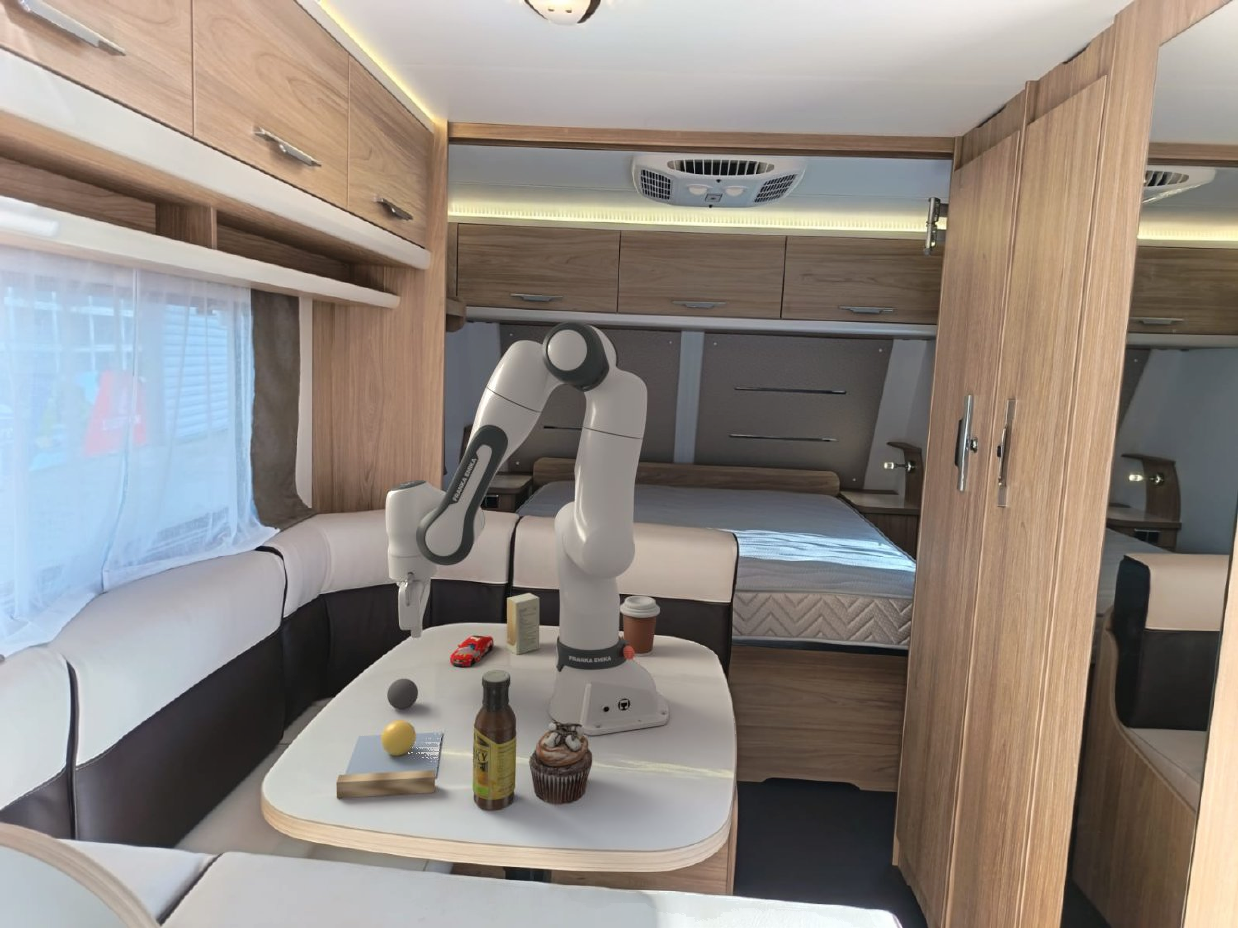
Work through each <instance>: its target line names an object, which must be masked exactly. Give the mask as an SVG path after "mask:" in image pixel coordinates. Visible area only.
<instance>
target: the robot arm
mask: <svg viewBox="0 0 1238 928" xmlns="http://www.w3.org/2000/svg"><path fill="white" fill-rule="evenodd" d="M619 358H620V357H619V354H618V349H617V347H616V345H615V343H614V342H613V341H612V340H611V339H610V338H609V336H607V335H606V334H605V333H604V332H603V331H601V330H600V329H599V328H597V327H595V326H592V325H590V324H587V323H585V322H583V321H577V320H570V321H569V320H568V321H564V322H561V323H558V324H557V325H555V326H553V327H552V329H550V330H549V332H547V334H546V335H545V337H544V339H543V342H542V344H541V343H539V342H537V341H533V340H527V339H525V340H518V341H516V342H514V343H512V344H511V345H510V346H509V347H508V349H507V350H506V352H505V353H504V355H503V356H502V357H501V359H500V361H499V362H498V364H497V365H496V367H495V369H494V371H493V372H492V374H491V376H490V378H489V380H488V382H487V385H486V386H485V389H484V391H483V393H482V396H481V399H480V402H479V403H478V407H477V410H476V413H475V417H474V421H473V425H472V428H471V432H470V435H469V436H470V437H469V439H468V442H467V446H466V449H465V452H464V455H463V456H462V458H461V460H460V463H459V465H458V467H457V469H456V472H455V473H454V476H453V477H452V480H451V481H450V484H449V485H448V488H447V490H446V491H443V490H442V489H439V488H437V487H435V486H433V485H432V484H431V483H430V482H429V481H427V480H423V479H422V480H421V479H420V480H412V481H406V482H403V483H400V484H397V485H396V486H394V487H392V488H391V489H390V490H389V491H388V493H386V494H387V495H386V499H385V512H384V513H385V531H386V534H387V537H388V547H387V562H388V563H387V564H388V565H387V566H388V576H389V578H390V579H391V580H394V581H396V582H395V583H396V585H397V587H399V588H398V595H397V596H398V597H397V599H398V605H397V606H398V623H399V628H400V630H402V631H410V636H411V638H412V639H418V638H421V637H422V632H423V618H424V614H425V610H426V608H427V607H426V606H427V604H428V600H429V596H430V592H431V581H432V580H431V579H432V577H433V576H435V575H437V573H438V567H437V565H439V566H445V567H446V566H453V565H457V564H459V563H461V562H463V561H464V560H465V559H466V558H467V557H468V556H469V554H470V553H471V551H472V549H473V546H474V545H475V543H476V542H477V540H478V539H479V537H480V535H481V534H482V532H483V531H484V529H485V528H484V527H485V525H486V519H485V517H486V516H485V513H484V510H483V509H482V507H481V504H482V502H483V501H484V499H485V496H486V494H487V492H488V491H489V488H490V485H491V484H492V481H493V480H494V477H495V475H496V474H497V473H498V471H499V469H500V468H501V467H502V465H503V464H504V463H505V462H506V461H507V460H508V458H509V457H510V456H511V455H513V453H514V452H516V450H517V449H518V448H519V447H520V446H521V445H522V444H523V443H524V441H525V440H526V439H527V438H528V437H529V434H530V433H531V432H532V431H533V428H534V427H535V425H536V424H537V422H538V420H539V418H540V416H541V414H542V411H544V410H543V409H544V407H545V405H546V403H547V401H548V399H549V397H550V395H551V393H552V392H553V391H554V390H555V388H557V387H558V386H560V385H564V386H569V387H571V388H573V389H574V390H576V391H578V392H580V393H583V394H584V396H585V399H586V400H585V401H586V403H585V404H586V406H585V407H586V408H585V413H584V418H583V423H582V429H581V435H580V438H579V439H580V440H579V444H578V449H577V454H576V460H575V464H574V482H575V484H574V486H575V488H574V501H571V502H568V503H566V504H565V505H563V506H562V507H561V508H560V509H559V511H558V512H557V514H556V515H555V519H554V523H553V524H554V525H553V528H554V529H553V530H554V537H555V539H554V540H555V555H556V557H555V559H556V568H557V569H556V571H557V579H558V586H559V587H558V589H559V627H558V628H559V629H558V631H559V633H558V634H559V635H558V636H557V638H556V645H555V666H556V677H555V682H554V683H555V684H554V687H553V688H554V689H553V693H552V696H551V700H550V702H549V703H550V704H549V706H548V714H549V715H550V717H551V718H552V719H553V720H554V721H557V722H560V723H561V724H566V723H576V724H580V725H582V728H583V729H584V733H583V734H586V735H588V736H598V735H605V734H611V733H612V734H613V733H619V732H625V731H631V730H637V729H644V728H652V727H660V726H663V725H666V724H667V723H668V721H669V719H670V709H669V708H670V707H669V706H668V702H667V701H666V699H665V698H664V697H663V695H662V694H661V693H660V692H659V691H658V690H657V686H656V683H655V679H654V677H653V676H652V675H651V673H650V672H649V670H647V669H646V668H645V667H644V666H643V665H641V664H640V663H638V662H637V661H636V660H634V658H635V657H636V656H634V655H635V652H634V650H633V648H632V647H631V646H629V643H628V641H626V640H625V638H624V635H621V636H620V617H621V616H620V613H621V612H620V605H621V598H620V593H619V589H618V583H617V577H619V576H621V575H622V574H623V573H625V572H627V570H628V569H629V568H630V567H631V566H632V563H633V561H634V558H635V555H636V545H635V541H634V534H633V533H634V511H635V510H634V506H635V505H634V503H635V502H634V500H635V485H636V484H635V482H636V475H637V470H638V466H639V460H640V456H641V455H640V454H641V450H642V446H643V445H642V444H643V441H644V440H643V438H644V434H645V430H646V421H647V413H648V412H647V411H648V409H647V408H648V407H647V405H648V389H647V386H646V384H645V382H644V381H643V380H642V378H641V377H639V376H637V375H636V374H634V373H632V372H629V371H626V370H621V369H619V368H618V367H619V361H620V360H619Z"/></svg>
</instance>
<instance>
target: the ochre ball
mask: <svg viewBox="0 0 1238 928" xmlns="http://www.w3.org/2000/svg"><path fill="white" fill-rule="evenodd" d="M381 735H382V736H381V743H382V746H383V748H384V750H385V751H386V752H387V753H389V754H391V755H394V756H400V755H403V754H405V753H407V752H408V751H410V750H411V748H412V747H413V745H414V743H415V740H416V730H415V727H414V726H413V725H412V724H411V723H410V722H408V721H407V720H403V719H402V720H401V719H399V720H397V719H396V720H394V721H391V722H390V723H388V724H387V725H386V726H385V727H384V729H383V730H382V733H381Z"/></svg>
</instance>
